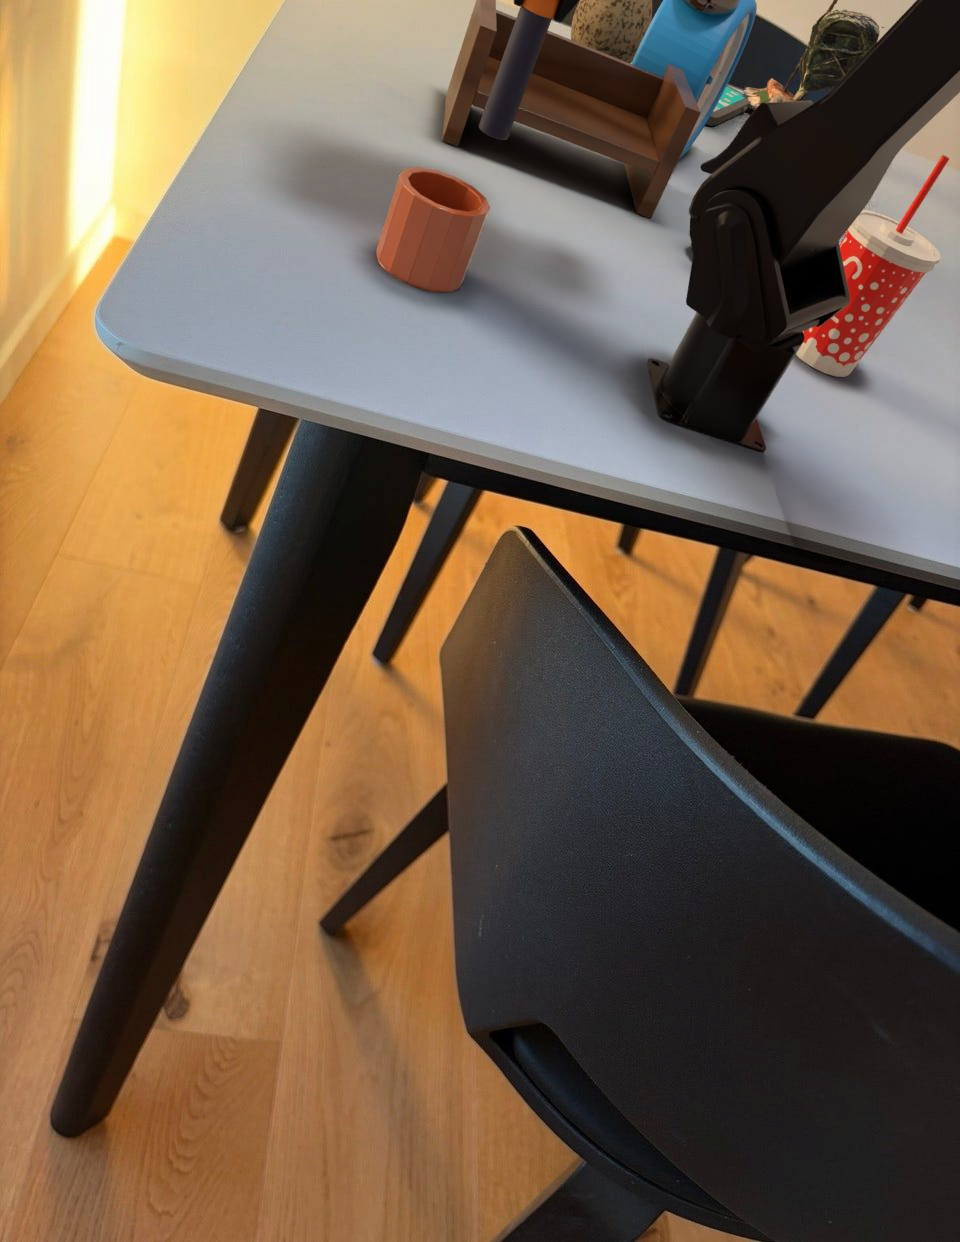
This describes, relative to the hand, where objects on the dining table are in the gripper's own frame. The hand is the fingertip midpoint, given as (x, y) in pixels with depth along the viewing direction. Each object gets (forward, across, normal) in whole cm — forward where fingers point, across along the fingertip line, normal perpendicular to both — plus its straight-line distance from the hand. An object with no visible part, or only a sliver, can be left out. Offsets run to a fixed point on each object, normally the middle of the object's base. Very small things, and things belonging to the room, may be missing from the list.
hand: (536, 11), depth 60 cm
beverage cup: (+13, -26, 0) cm, 29 cm away
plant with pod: (+13, -37, -57) cm, 69 cm away
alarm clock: (+13, -18, -31) cm, 38 cm away
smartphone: (+13, -26, -52) cm, 60 cm away
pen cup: (+13, +2, +7) cm, 15 cm away
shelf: (+13, -7, -20) cm, 25 cm away
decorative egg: (+13, -14, -47) cm, 51 cm away
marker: (+7, 0, 0) cm, 7 cm away
